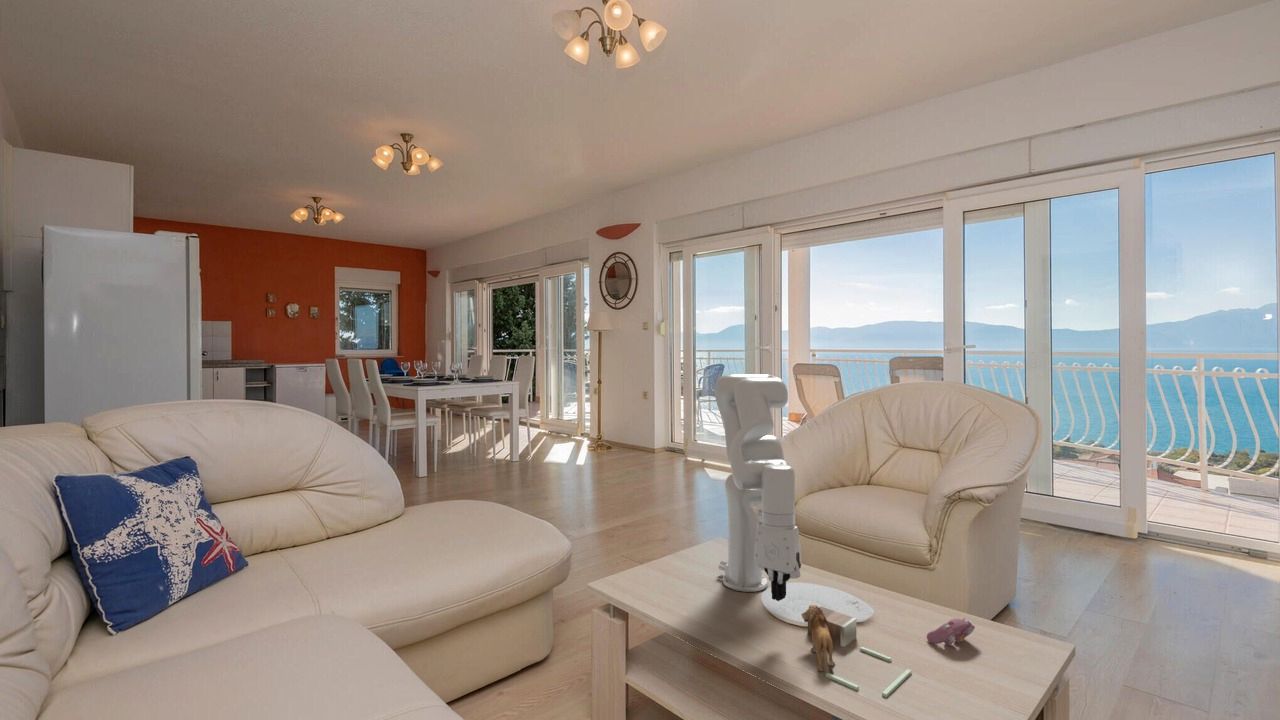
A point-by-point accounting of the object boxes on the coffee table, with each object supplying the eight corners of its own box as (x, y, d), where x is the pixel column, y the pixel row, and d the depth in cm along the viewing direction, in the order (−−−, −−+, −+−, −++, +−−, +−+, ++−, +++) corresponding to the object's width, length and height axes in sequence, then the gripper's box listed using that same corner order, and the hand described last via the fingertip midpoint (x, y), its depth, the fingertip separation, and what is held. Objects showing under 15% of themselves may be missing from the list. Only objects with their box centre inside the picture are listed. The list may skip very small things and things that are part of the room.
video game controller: (938, 655, 128) (952, 634, 125) (923, 638, 132) (935, 616, 129) (968, 646, 132) (982, 625, 129) (952, 629, 136) (965, 608, 133)
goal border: (826, 676, 117) (826, 673, 117) (861, 649, 128) (861, 646, 128) (882, 701, 109) (882, 698, 109) (915, 669, 120) (915, 666, 120)
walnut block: (807, 613, 135) (843, 627, 129) (820, 606, 139) (856, 618, 133) (807, 633, 135) (843, 647, 129) (820, 624, 140) (856, 638, 133)
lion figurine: (799, 641, 132) (799, 601, 131) (822, 640, 132) (823, 601, 131) (820, 677, 117) (821, 633, 117) (847, 677, 117) (847, 633, 117)
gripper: (742, 515, 137) (742, 593, 136) (798, 528, 126) (798, 613, 125) (760, 510, 142) (760, 585, 141) (815, 521, 131) (816, 603, 131)
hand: (778, 598), depth 133 cm, fingers closed
